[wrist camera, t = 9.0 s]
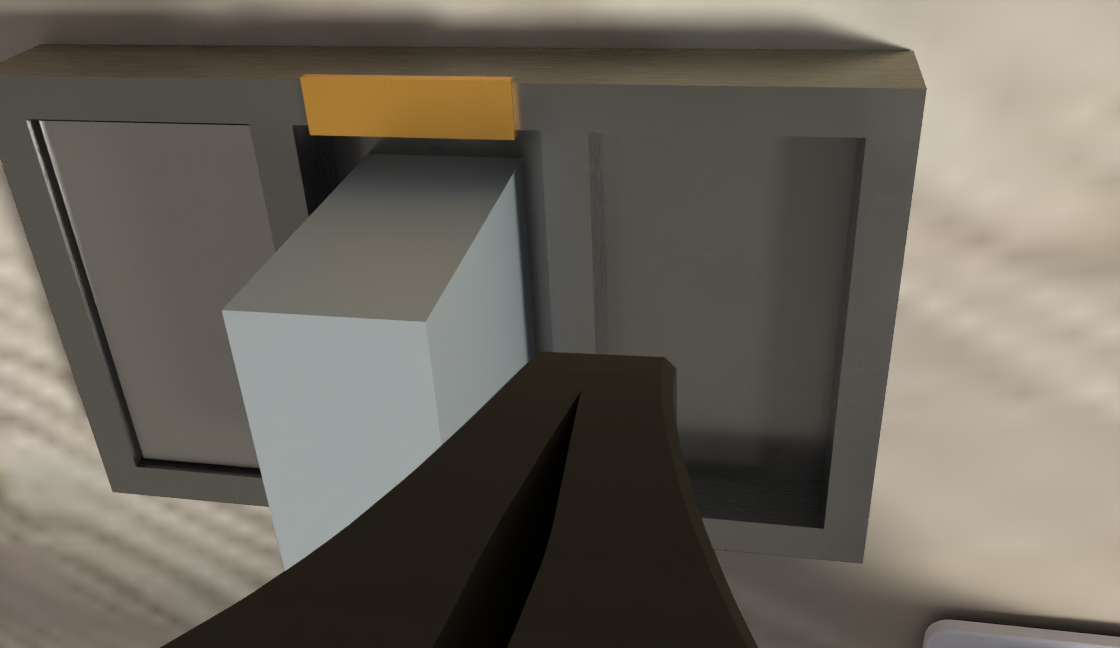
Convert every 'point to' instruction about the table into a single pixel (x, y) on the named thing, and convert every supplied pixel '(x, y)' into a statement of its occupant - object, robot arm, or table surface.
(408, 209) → the block
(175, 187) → the rack
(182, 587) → the table surface
